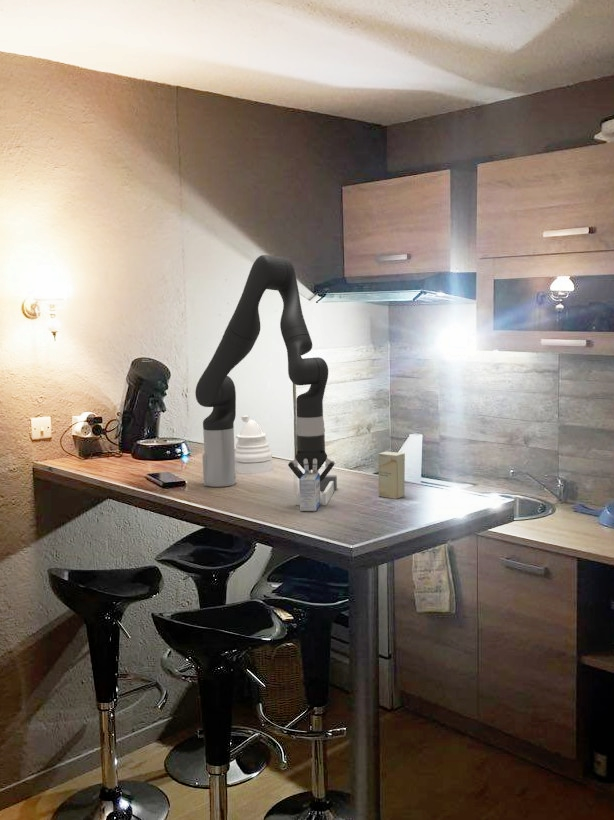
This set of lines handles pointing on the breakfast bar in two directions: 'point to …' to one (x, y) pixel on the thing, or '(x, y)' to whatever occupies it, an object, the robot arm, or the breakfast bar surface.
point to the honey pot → (252, 449)
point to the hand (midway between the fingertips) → (312, 495)
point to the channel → (325, 488)
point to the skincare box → (391, 474)
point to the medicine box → (309, 491)
